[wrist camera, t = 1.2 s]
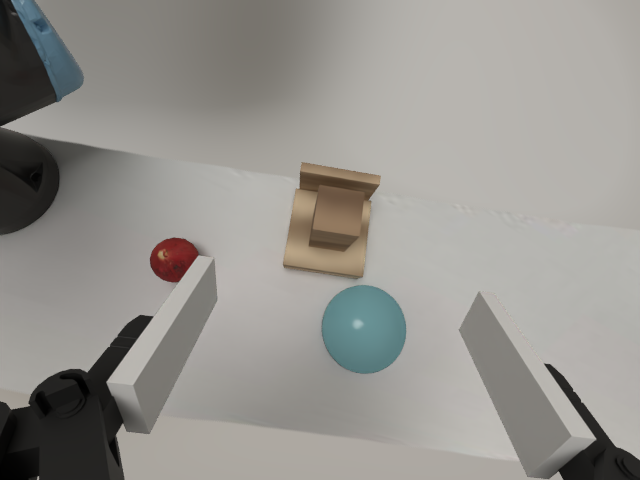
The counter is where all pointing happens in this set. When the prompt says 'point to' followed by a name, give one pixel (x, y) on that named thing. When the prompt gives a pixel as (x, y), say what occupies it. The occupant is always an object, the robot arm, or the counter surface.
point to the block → (336, 218)
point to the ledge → (302, 216)
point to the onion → (172, 258)
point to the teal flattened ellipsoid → (364, 329)
